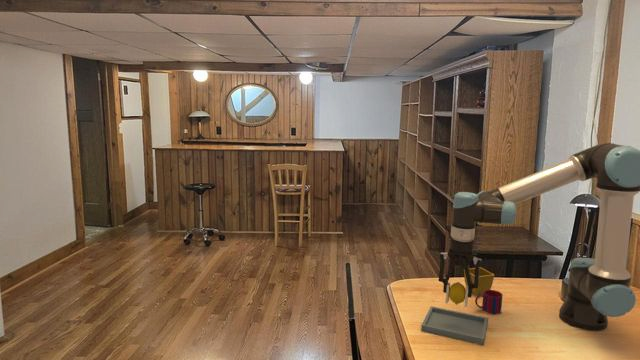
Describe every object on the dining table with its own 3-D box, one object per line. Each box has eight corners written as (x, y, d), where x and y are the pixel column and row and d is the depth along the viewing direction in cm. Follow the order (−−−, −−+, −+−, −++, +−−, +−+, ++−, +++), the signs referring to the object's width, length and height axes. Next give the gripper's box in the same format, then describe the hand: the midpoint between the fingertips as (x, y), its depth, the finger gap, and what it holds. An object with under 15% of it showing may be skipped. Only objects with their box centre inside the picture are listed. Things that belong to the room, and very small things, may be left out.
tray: (487, 323, 159) (487, 317, 159) (483, 345, 145) (483, 339, 144) (430, 311, 167) (430, 306, 167) (421, 331, 153) (421, 325, 153)
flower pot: (461, 289, 188) (463, 268, 186) (479, 287, 190) (481, 267, 189) (474, 298, 180) (476, 276, 178) (493, 295, 182) (495, 274, 181)
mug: (503, 314, 166) (505, 297, 165) (477, 314, 166) (478, 297, 165) (496, 306, 173) (498, 289, 172) (470, 306, 173) (472, 289, 171)
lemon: (451, 299, 158) (453, 277, 157) (467, 304, 155) (469, 282, 154) (445, 304, 154) (447, 282, 153) (460, 309, 151) (463, 287, 149)
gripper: (431, 237, 151) (427, 302, 155) (490, 246, 143) (484, 314, 147) (436, 231, 158) (431, 293, 162) (492, 239, 150) (486, 304, 154)
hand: (456, 303), depth 155 cm, fingers closed on lemon, 5 cm apart
